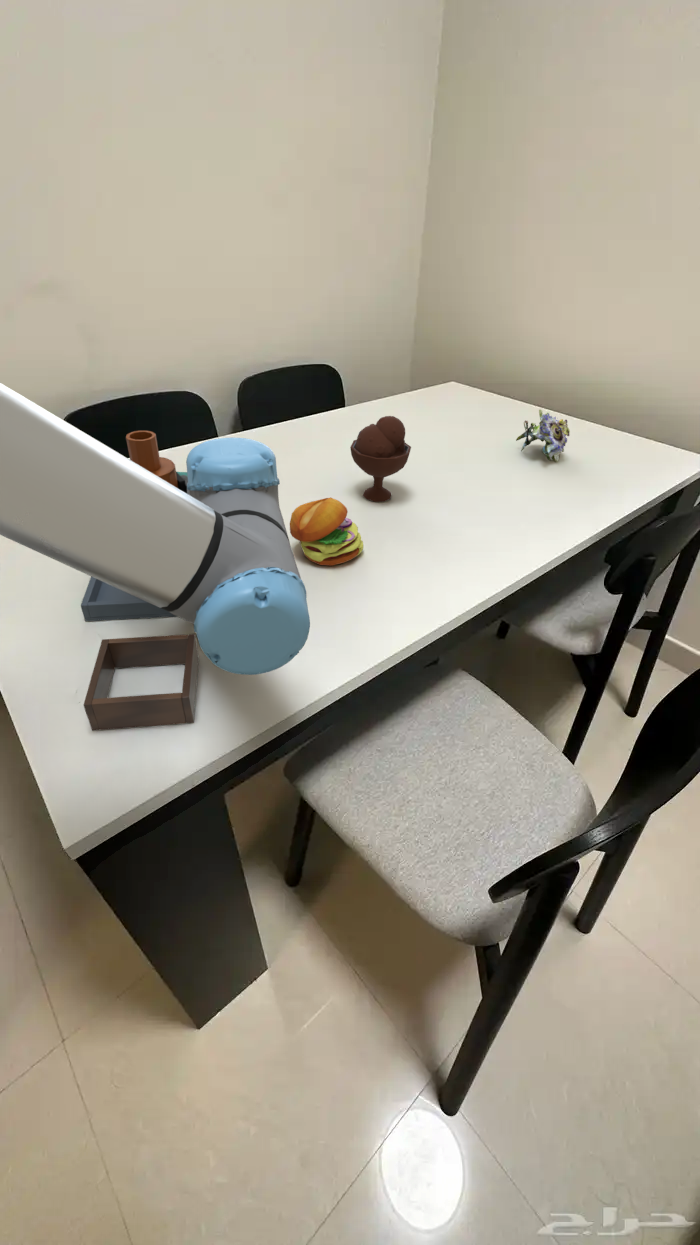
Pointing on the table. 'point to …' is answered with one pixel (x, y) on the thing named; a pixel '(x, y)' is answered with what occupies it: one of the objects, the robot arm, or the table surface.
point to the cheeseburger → (326, 532)
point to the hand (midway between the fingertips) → (139, 478)
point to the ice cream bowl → (381, 454)
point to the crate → (143, 707)
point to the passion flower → (547, 435)
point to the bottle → (150, 456)
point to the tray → (116, 604)
